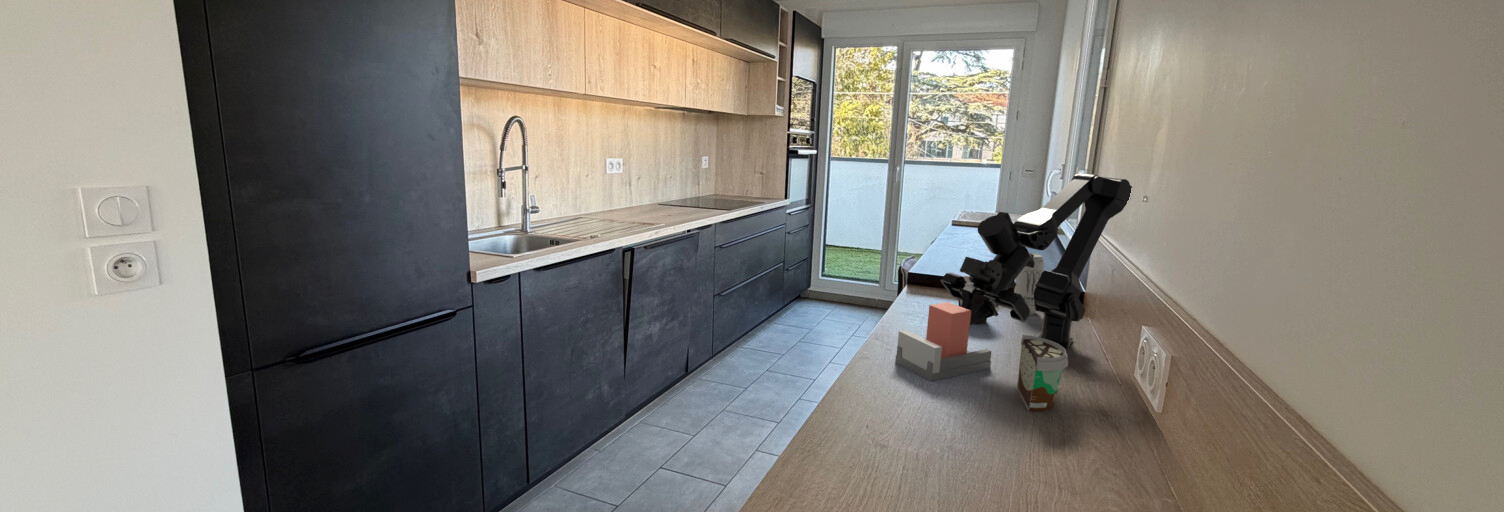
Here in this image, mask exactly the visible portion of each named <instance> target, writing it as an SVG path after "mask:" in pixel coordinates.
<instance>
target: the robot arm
mask: <svg viewBox="0 0 1504 512" xmlns="http://www.w3.org/2000/svg"><path fill="white" fill-rule="evenodd" d="M1131 188H1133V185H1131V184H1130V181H1129V180H1128V179H1124V178H1117V177H1116V178H1115V177H1106V176H1099V175H1098V174H1091V173H1083V172H1082V173H1078V174H1074V175H1073V177H1072V178H1071V181H1070V182H1069V183H1068V184H1067V185H1066V186H1065V187H1063V188H1061V190H1060V191H1059V192H1058V193H1057V194H1056V195H1054V196H1053V197H1052V198H1051V199H1050V200H1049V201H1047V203H1045V204H1044V206H1042V207H1041V208H1040V209H1038V210H1035V211H1032V212H1028V213H1026V214H1024V215H1022V216H1021V217H1019V218H1017V220H1015V221H1014V222H1013V221H1012V218H1011V216H1010V214H1009V213H1008V212H1004V211H998V212H997V214H995V215H992V216H989V217H987V218H986V219H984V220H981V221H980V223H979V224H978V227H977V233H978V234H979V236H980V237H981V239H982V241H983V243H984V245H986V247H987V249H988V250H989V252H990V253H991V254H993V255H995V256H994V258H993V259H990V260H989V261H983V260H980V259H976V258H972V257H969V256H965V257H964V259H963V262H962V264H961V266H960V269H959V272H960V273H964V274H965V275H967V276H970V277H969V280H970V281H971V282H972V283H973V284H974V285H972V284H969V283H967V282H966V280H965V279H964V278H963V275H960V274H957V273H953V272H946V273H945V274H944V275H943V276H942V278H941V279H940V282H941V284H942V285H943V286H944V288H945V289H946V291H947V292H948V294H949V295H950V296H951V297H952V298H954V299H956V300H958V299H959V300H962V306H961V307H963V308H965V309H968V310H971V319H970V326H973V325H975V324H974V323H976V322H979V321H981V320H984V319H986V318H987V319H988V318H991V317H998V316H999V310H1000V309H1002V308H1006V309H1009V310H1010V311H1009V315H1010V317H1011V318H1012V319H1013V320H1016V321H1019V322H1022V323H1025V321H1026V320H1027V319H1028V317H1029V316H1030V315H1029V313H1030V308H1029V307H1028V305H1027V304H1026V302H1025V301H1024V299H1023V297H1022V296H1021V294H1018V293H1014V292H1013V291H1011V290H1008V289H1015V286H1016V285H1017V284H1016V283H1015V282H1016V278H1017V276H1018V275H1019V274H1020V272H1021V271H1022V270H1023V268H1024V267H1025V266H1027V267H1031V268H1034V264H1035V262H1034V259H1033V256H1034V255H1033V254H1030V253H1031V252H1029V251H1028V249H1032V250H1037V251H1045V250H1046V249H1047V248H1049V247H1050V246H1051V244H1052V243H1053V242H1054V241H1055V239H1056V238H1057V236H1058V233H1059V232H1058V231H1059V227H1060V226H1061V225H1062V224H1063V223H1064V222H1065V221H1066V220H1067V219H1068V218H1069V217H1070V216H1071V215H1072V214H1073V213H1074V212H1075V211H1076V210H1078V209H1079V208H1080V207H1081V206H1082V205H1083V204H1084V209H1085V210H1084V212H1083V214H1082V215H1081V219H1080V221H1078V225H1077V226H1076V228H1075V230H1074V232H1073V234H1072V236H1071V238H1070V240H1069V242H1068V244H1067V246H1066V248H1065V250H1064V252H1063V254H1062V255H1061V257H1060V259H1059V261H1058V263H1057V265H1056V267H1055V268H1053V269H1052V270H1047V269H1046V270H1044V269H1043V272H1042V274H1041V276H1040V279H1039V281H1038V282H1037V283H1036V285H1035V286H1036V288H1035V289H1034V293H1033V296H1034V303H1035V310H1036V312H1040V313H1043V319H1042V327H1041V333H1040V334H1039V335H1038V336H1037V337H1040V338H1044V339H1047V340H1050V341H1053V342H1055V343H1057V344H1059V345H1061V346H1062V347H1063V348H1064V349H1065V348H1067V349H1068V348H1069V347H1070V346H1071V344H1073V342H1074V338H1072V337H1071V331H1072V325H1073V322H1080V320H1082V319H1084V317H1085V316H1084V315H1085V313H1086V309H1085V307H1084V305H1083V304H1082V301H1081V300H1080V296H1081V293H1082V289H1081V287H1082V286H1081V281H1080V277H1081V275H1082V273H1083V272H1084V269H1085V267H1086V265H1087V263H1088V261H1089V259H1090V257H1091V255H1092V253H1093V251H1094V249H1095V247H1096V246H1097V243H1098V241H1099V239H1100V237H1101V235H1102V233H1103V232H1104V229H1106V226H1107V223H1108V221H1109V220H1110V219H1112V218H1113V217H1115V216H1116V215H1118V214H1120V213H1121V212H1122V211H1123V210H1124V209H1125V207H1126V206H1127V204H1128V203H1127V201H1128V200H1129V197H1130V193H1131ZM1129 201H1130V200H1129ZM1129 201H1128V202H1129ZM959 300H958V301H959Z"/></svg>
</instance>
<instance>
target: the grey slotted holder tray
mask: <svg viewBox="0 0 1504 512" xmlns="http://www.w3.org/2000/svg"><path fill="white" fill-rule="evenodd" d="M897 336H898V337H897V346H896V355H895V358H894V359H895V364H898V365H900V366H902V367H903V368H904V369H907V370H909V371H911V372H912V373H915V374H917V375H919V376H920V377H922V378H924V379H925V380H928V381H930V382H934V381H939V380H944V379H948V378H952V377H957V376H961V375H965V374H966V375H967V374H970V373H976V372H979V371H985V370H988V369H991V365H992V360H991V358H992V350H990V349H988V348H985V349H979V350H974V351H970V350H967V353H964V354H960V355H955V356H950V357H945V358H941V351H942V347H941V346H939V345H937V344H934V343H932V342H930V341H928V340H926V338H923V337H921V336H919V335H916V334H915V333H913V332H910V331H908V330H906V329H904V330H898V335H897Z"/></svg>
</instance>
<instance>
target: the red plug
mask: <svg viewBox="0 0 1504 512" xmlns="http://www.w3.org/2000/svg"><path fill="white" fill-rule="evenodd" d="M928 307H929V308H928V316H927V317H928V318H927V327H926V337H925V339H926V340H928V341H930V342H932V343H934V344H937V345H939V346H941V347H942V351H941V358H945V357H950V356H955V355H960V354H964V353H967V351H968V343H969V336H970V328H971V327H970V326H971V325H970V319H971V310H968V309H965V308H963V307H960V306H959V305H957V304H955V303H951V302H949V301H948V302H940V303H935V304H929V305H928Z"/></svg>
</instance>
